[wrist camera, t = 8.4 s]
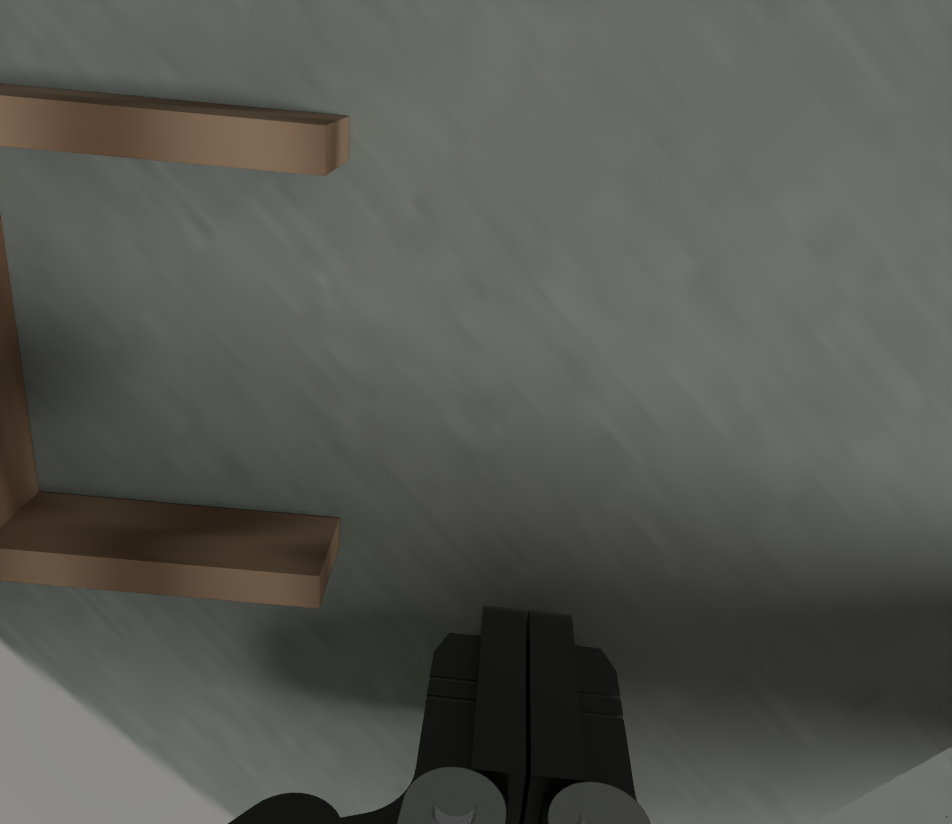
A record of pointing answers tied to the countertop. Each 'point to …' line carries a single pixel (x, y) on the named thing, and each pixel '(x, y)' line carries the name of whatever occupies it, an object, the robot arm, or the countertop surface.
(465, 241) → the countertop surface
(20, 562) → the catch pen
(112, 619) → the countertop surface
